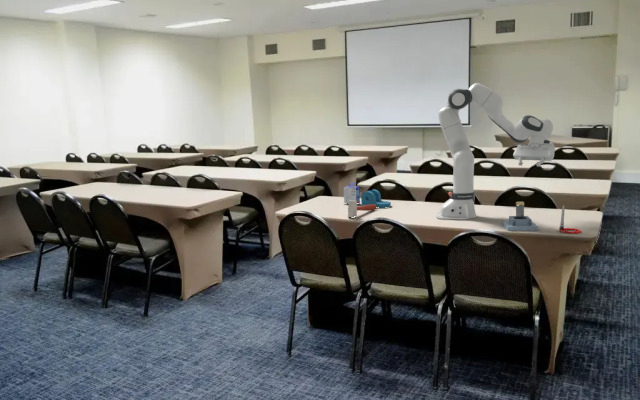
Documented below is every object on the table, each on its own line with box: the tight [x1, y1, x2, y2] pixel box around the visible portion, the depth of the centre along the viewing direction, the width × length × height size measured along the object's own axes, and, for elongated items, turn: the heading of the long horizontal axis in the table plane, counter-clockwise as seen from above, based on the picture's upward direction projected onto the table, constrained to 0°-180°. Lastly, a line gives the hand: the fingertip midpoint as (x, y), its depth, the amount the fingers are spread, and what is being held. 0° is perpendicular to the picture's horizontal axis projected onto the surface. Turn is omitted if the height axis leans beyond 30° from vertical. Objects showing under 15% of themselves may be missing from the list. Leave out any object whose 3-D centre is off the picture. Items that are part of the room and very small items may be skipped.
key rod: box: [515, 201, 525, 219], centre depth 260 cm, size 4×4×11 cm
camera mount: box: [360, 188, 392, 209], centre depth 337 cm, size 18×10×10 cm, turn 57°
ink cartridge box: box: [343, 182, 361, 204], centre depth 349 cm, size 10×6×14 cm, turn 57°
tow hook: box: [558, 205, 582, 235], centre depth 247 cm, size 8×13×9 cm
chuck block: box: [502, 215, 539, 232], centre depth 261 cm, size 14×14×5 cm
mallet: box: [347, 200, 377, 218], centre depth 315 cm, size 11×4×30 cm
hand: (528, 165), depth 268 cm, fingers open, 8 cm apart
